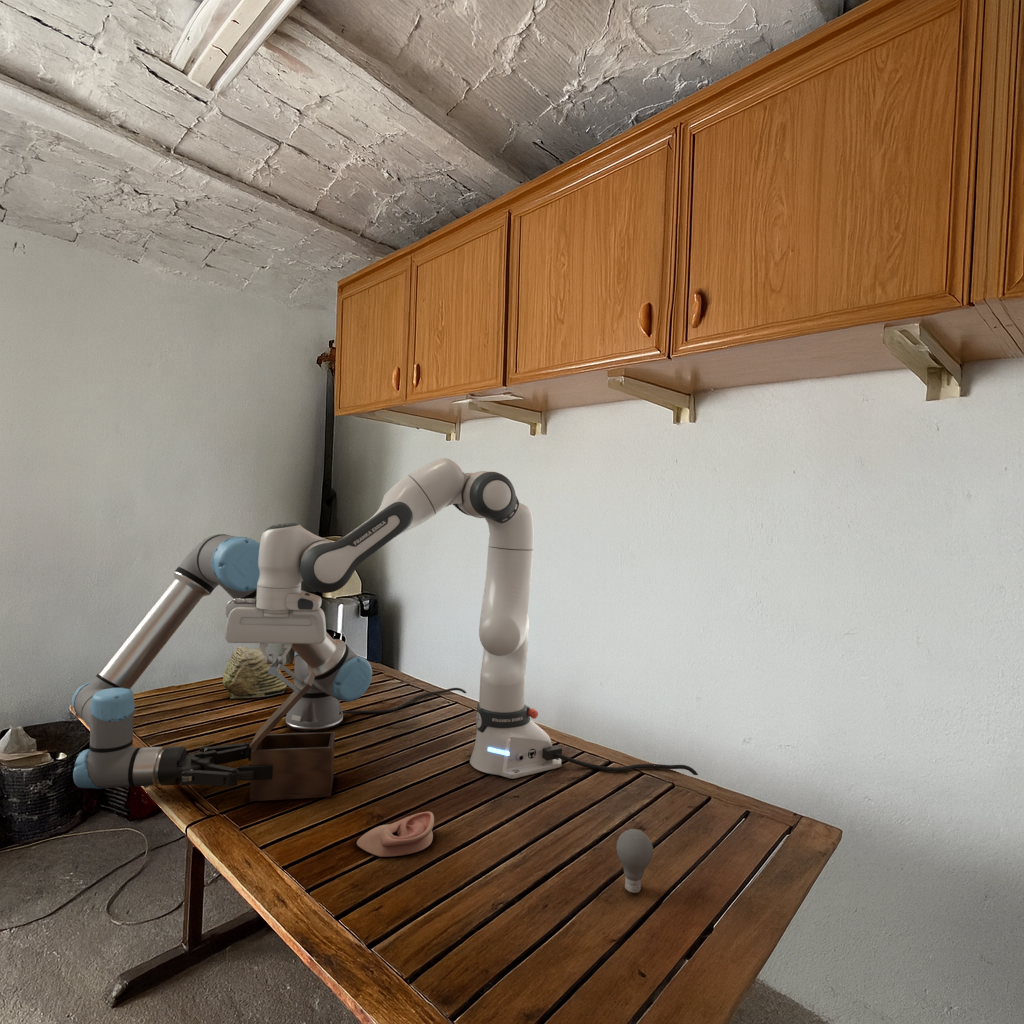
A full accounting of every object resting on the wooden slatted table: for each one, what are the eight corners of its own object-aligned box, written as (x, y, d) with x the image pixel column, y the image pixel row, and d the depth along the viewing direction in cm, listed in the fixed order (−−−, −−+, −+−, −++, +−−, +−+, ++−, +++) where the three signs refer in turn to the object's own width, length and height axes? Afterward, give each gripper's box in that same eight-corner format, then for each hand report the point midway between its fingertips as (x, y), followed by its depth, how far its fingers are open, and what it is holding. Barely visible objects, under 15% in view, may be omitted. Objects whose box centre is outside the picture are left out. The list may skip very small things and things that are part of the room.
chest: (333, 777, 143) (335, 731, 143) (330, 796, 134) (331, 747, 134) (258, 781, 140) (259, 734, 139) (249, 801, 130) (251, 751, 130)
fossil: (218, 695, 195) (220, 647, 195) (278, 685, 208) (279, 640, 207) (228, 703, 189) (230, 653, 188) (289, 692, 201) (290, 645, 201)
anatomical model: (349, 829, 113) (376, 800, 125) (348, 851, 113) (375, 820, 125) (420, 841, 111) (440, 810, 122) (419, 863, 111) (439, 830, 122)
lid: (315, 674, 141) (284, 648, 140) (311, 686, 132) (278, 659, 131) (261, 733, 139) (229, 707, 138) (253, 750, 130) (218, 723, 129)
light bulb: (610, 879, 108) (613, 822, 108) (644, 879, 109) (647, 822, 109) (619, 902, 102) (622, 840, 102) (655, 901, 103) (658, 840, 103)
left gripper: (178, 762, 142) (283, 758, 147) (141, 810, 121) (266, 804, 125) (179, 728, 142) (284, 726, 146) (143, 770, 120) (267, 766, 125)
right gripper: (222, 600, 130) (219, 667, 130) (326, 602, 134) (322, 667, 134) (230, 595, 136) (226, 659, 136) (328, 597, 140) (325, 659, 140)
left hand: (276, 762), depth 136 cm, fingers closed on chest, 9 cm apart
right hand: (275, 663), depth 135 cm, fingers closed, pressing on lid
